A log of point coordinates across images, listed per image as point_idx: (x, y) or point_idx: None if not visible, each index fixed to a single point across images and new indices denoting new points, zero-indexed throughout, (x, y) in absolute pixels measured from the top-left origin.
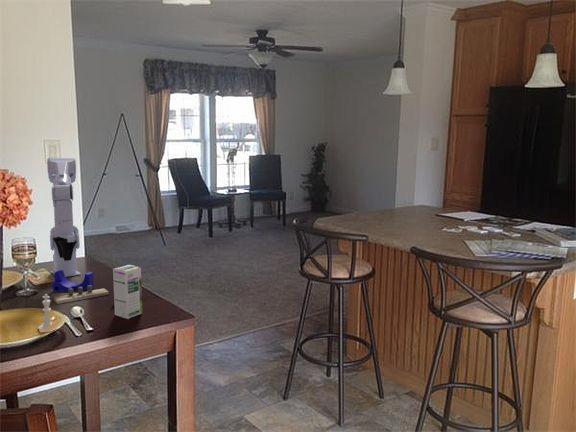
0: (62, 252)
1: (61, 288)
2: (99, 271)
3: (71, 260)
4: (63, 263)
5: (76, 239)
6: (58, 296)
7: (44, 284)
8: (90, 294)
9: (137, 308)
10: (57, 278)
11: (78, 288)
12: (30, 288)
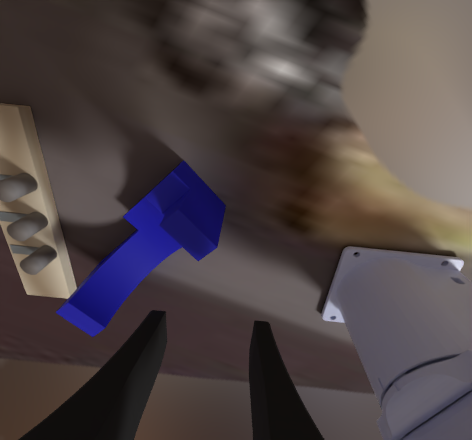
0: (126, 366)
1: (151, 190)
2: (313, 363)
3: (359, 352)
4: (373, 314)
5: None
6: (23, 131)
7: (305, 166)
8: (10, 240)
9: None
10: (175, 204)
11: (11, 223)
12: (290, 83)
